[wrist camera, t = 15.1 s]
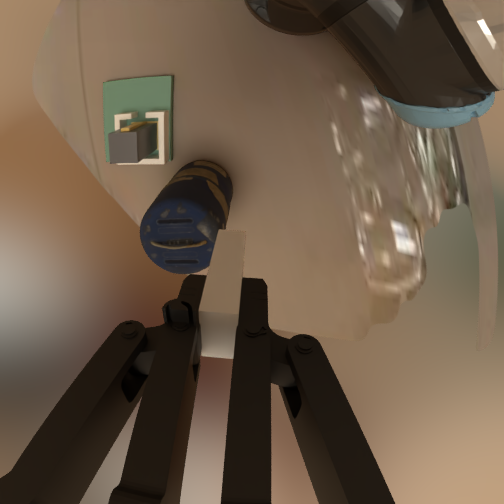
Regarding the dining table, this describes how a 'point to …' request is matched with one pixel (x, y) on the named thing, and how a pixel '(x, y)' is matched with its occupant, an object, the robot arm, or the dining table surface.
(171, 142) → the board
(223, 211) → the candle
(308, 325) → the dining table surface
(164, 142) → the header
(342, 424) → the robot arm
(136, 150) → the plug
